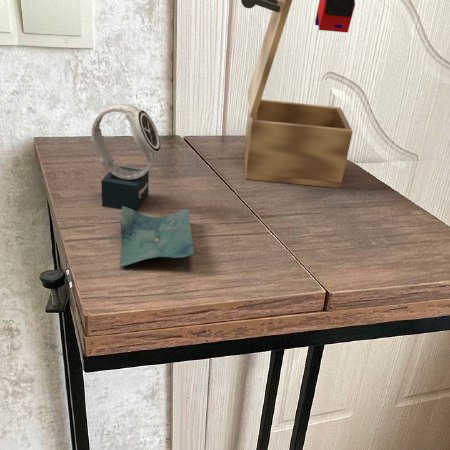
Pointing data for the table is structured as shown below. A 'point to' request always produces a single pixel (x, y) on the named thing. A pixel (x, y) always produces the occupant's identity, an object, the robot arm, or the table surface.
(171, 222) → the terrain model
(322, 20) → the toy building block
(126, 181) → the watch
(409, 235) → the table surface
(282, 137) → the case
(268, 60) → the case lid
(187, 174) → the table surface
